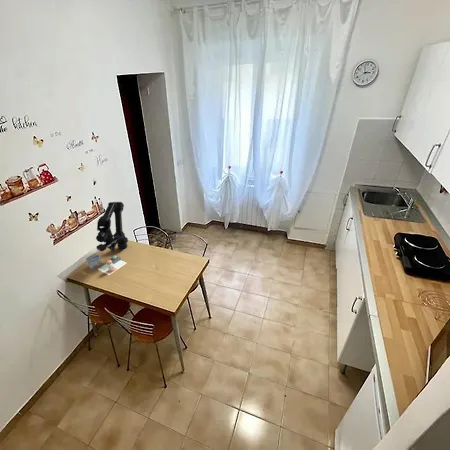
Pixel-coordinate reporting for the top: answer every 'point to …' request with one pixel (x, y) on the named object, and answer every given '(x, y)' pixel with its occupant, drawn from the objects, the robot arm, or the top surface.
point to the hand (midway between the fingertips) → (112, 252)
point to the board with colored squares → (116, 264)
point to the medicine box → (93, 260)
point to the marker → (110, 265)
